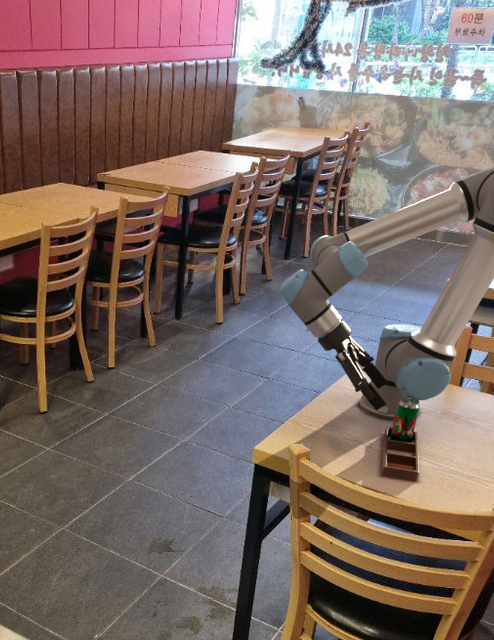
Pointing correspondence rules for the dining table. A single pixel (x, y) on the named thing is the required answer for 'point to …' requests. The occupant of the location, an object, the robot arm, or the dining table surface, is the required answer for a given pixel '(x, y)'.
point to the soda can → (405, 419)
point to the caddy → (400, 458)
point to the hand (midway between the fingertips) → (382, 396)
